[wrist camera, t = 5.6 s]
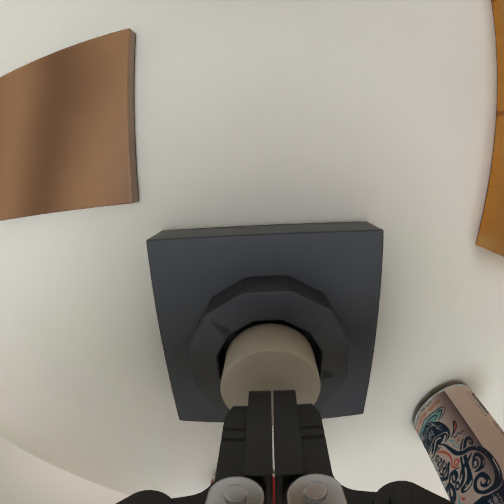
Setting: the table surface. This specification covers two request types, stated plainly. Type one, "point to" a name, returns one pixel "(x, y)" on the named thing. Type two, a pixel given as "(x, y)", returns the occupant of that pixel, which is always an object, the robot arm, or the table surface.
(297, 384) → the stove knob
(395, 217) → the table surface
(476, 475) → the beer can
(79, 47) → the plate
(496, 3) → the bread
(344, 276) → the panel
